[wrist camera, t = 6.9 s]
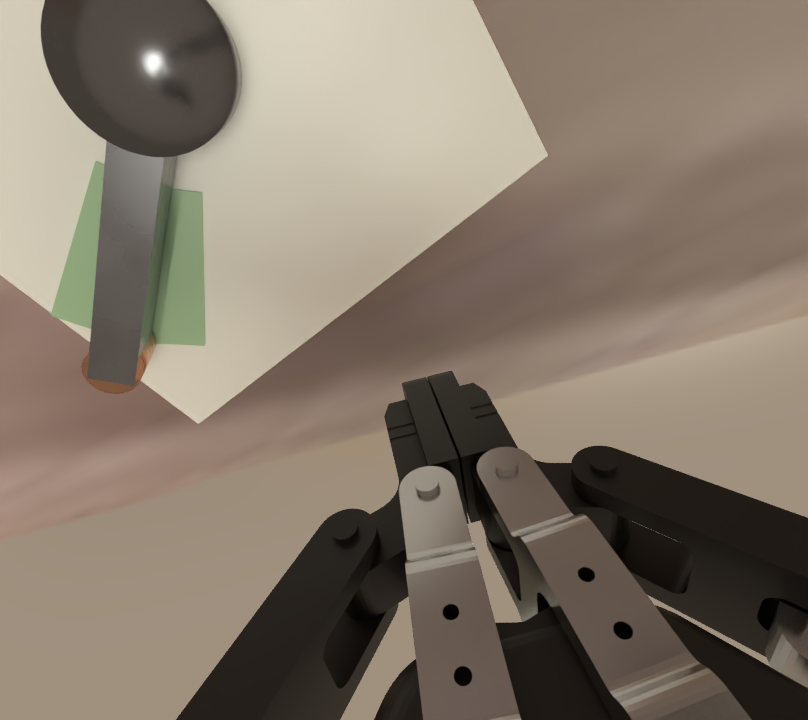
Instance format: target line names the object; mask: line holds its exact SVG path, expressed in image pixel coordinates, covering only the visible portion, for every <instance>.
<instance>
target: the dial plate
mask: <svg viewBox="0 0 808 720" xmlns="http://www.w3.org/2000/svg"><path fill="white" fill-rule="evenodd" d="M207 1H208V2H209V3H210V4H211V5H212V6H213V8H214V9H215V10H216V11H217V13H218V14H219V15H220V16H221V18H222V19H223V21H224V22H225V24H226V26H227V27H228V29H229V31H230V33H231V35H232V37H233V39H234V42H235V45H236V47H237V50H238V54H239V58H240V63H241V71H242V87H241V95H240V99H239V103H238V105H237V108H236V110H235V113H234V115H233V116H232V118H231V120H230V121H229V122H228V124H227V125H226V126H225V128H223V129H222V130H221V131H220V132H219V133H218V134H217V135H216V136H215V137H213V138H212V139H211V140H210V141H208V142H207V143H206V144H204V145H203V146H201V147H200V148H198V149H196V150H194V151H192V152H189V153H186V154H183V155H179V156H177V157H176V165H175V172H174V179H173V186H172V193H171V201H170V208H169V215H168V222H167V229H166V237H165V244H164V251H163V258H162V266H161V273H160V280H159V287H158V294H157V302H156V309H155V316H154V323H153V331H152V334H153V336H154V338H155V342H156V347H155V351H154V353H153V355H152V357H151V359H150V361H149V364H148V366H147V368H146V370H145V372H144V374H143V376H142V378H141V381H142V382H143V383H145V384H146V385H147V386H149V387H150V388H151V389H153V390H154V391H155V392H157V393H158V394H159V395H160V396H162V397H163V398H164V399H166V400H167V401H168V402H170V403H171V404H172V405H174V406H175V407H176V408H178V409H179V410H180V411H182V412H183V413H184V414H186V415H187V416H188V417H190V418H191V419H192V420H194V421H195V422H196V423H198V424H199V423H200V422H202V421H203V420H204V419H206V418H207V417H208V416H210V415H211V414H212V413H213V412H215V411H216V410H217V409H219V408H220V407H221V406H223V405H224V404H225V403H226V402H228V401H229V400H230V399H232V398H233V397H234V396H236V395H237V394H238V393H240V392H241V391H242V390H243V389H245V388H246V387H247V386H249V385H250V384H251V383H253V382H254V381H255V380H256V379H258V378H259V377H260V376H262V375H263V374H264V373H266V372H267V371H268V370H269V369H271V368H272V367H273V366H275V365H276V364H277V363H279V362H280V361H281V360H282V359H284V358H285V357H286V356H288V355H289V354H290V353H292V352H293V351H294V350H295V349H297V348H298V347H299V346H301V345H302V344H303V343H305V342H306V341H307V340H309V339H310V338H311V337H312V336H314V335H315V334H316V333H318V332H319V331H320V330H322V329H323V328H324V327H325V326H327V325H328V324H329V323H331V322H332V321H333V320H335V319H336V318H337V317H338V316H340V315H341V314H342V313H344V312H345V311H346V310H348V309H349V308H350V307H351V306H353V305H354V304H355V303H357V302H358V301H359V300H361V299H362V298H363V297H365V296H366V295H367V294H368V293H370V292H371V291H372V290H374V289H375V288H376V287H378V286H379V285H380V284H381V283H383V282H384V281H385V280H387V279H388V278H389V277H391V276H392V275H393V274H394V273H396V272H397V271H398V270H400V269H401V268H402V267H404V266H405V265H406V264H407V263H409V262H410V261H411V260H413V259H414V258H415V257H417V256H418V255H419V254H421V253H422V252H423V251H424V250H426V249H427V248H428V247H430V246H431V245H432V244H434V243H435V242H436V241H437V240H439V239H440V238H441V237H443V236H444V235H445V234H447V233H448V232H449V231H450V230H452V229H453V228H454V227H456V226H457V225H458V224H460V223H461V222H462V221H463V220H465V219H466V218H467V217H469V216H470V215H471V214H473V213H474V212H475V211H477V210H478V209H479V208H480V207H482V206H483V205H484V204H486V203H487V202H488V201H490V200H491V199H492V198H493V197H495V196H496V195H497V194H499V193H500V192H501V191H503V190H504V189H505V188H506V187H508V186H509V185H510V184H512V183H513V182H514V181H516V180H517V179H518V178H519V177H521V176H522V175H523V174H525V173H526V172H527V171H529V170H530V169H531V168H533V167H534V166H535V165H536V164H538V163H539V162H540V161H542V160H543V159H544V158H546V157H547V156H548V154H547V152H546V150H545V148H544V146H543V144H542V142H541V140H540V138H539V136H538V134H537V132H536V129H535V127H534V125H533V123H532V121H531V119H530V117H529V115H528V113H527V111H526V109H525V107H524V105H523V103H522V101H521V99H520V96H519V94H518V92H517V90H516V88H515V86H514V84H513V82H512V80H511V78H510V76H509V74H508V72H507V70H506V68H505V66H504V63H503V61H502V59H501V57H500V55H499V53H498V51H497V49H496V47H495V45H494V43H493V41H492V39H491V37H490V35H489V33H488V30H487V28H486V26H485V24H484V22H483V20H482V18H481V16H480V14H479V12H478V10H477V8H476V6H475V4H474V2H473V0H207ZM44 2H45V0H0V275H1V276H2V277H4V278H5V279H6V280H8V281H9V282H10V283H12V284H13V285H14V286H16V287H17V288H18V289H20V290H21V291H22V292H24V293H25V294H26V295H28V296H29V297H30V298H32V299H33V300H34V301H36V302H37V303H38V304H40V305H41V306H42V307H44V308H45V309H46V310H48V311H49V312H50V313H51V316H53V317H56V318H58V319H60V320H61V321H62V322H64V323H65V324H66V325H68V326H69V327H70V328H72V329H73V330H74V331H75V332H77V333H78V334H79V335H81V336H82V337H83V338H85V339H86V340H87V341H89V342H90V337H91V325H92V313H93V300H94V288H95V276H96V263H97V251H98V239H99V226H100V214H101V202H102V190H103V177H104V165H105V153H106V140H105V139H103V138H102V137H100V136H98V135H97V134H96V133H95V132H93V131H92V130H91V129H90V128H88V127H87V126H86V125H85V124H84V123H83V122H82V121H81V120H80V119H79V118H78V117H77V116H76V115H75V114H74V112H73V111H72V110H71V109H70V108H69V107H68V105H67V104H66V102H65V101H64V99H63V98H62V96H61V95H60V93H59V91H58V90H57V88H56V86H55V84H54V82H53V80H52V78H51V75H50V73H49V71H48V68H47V65H46V61H45V58H44V55H43V49H42V43H41V16H42V10H43V6H44Z"/></svg>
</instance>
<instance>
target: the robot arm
mask: <svg viewBox="0 0 808 720" xmlns="http://www.w3.org/2000/svg"><path fill="white" fill-rule="evenodd" d="M427 379H428V380H427ZM402 386H403V391H404V396H405V400H403V401H399V402H395V403H391V404H389V405H388V408H387V411H386V413H385V416H384V417H385V421H386V426H387V430H388V434H389V438H390V443H391V447H392V451H393V456H394V460H395V464H396V468H397V473H398V477H399V487H398V490H397V492H396V494H395V496H394V497H393V498H392V500H391V501H390V502H389V503H387V504H386V505H385V506H384V507H382V508H380V509H379V510H377V511H375V512H374V513H372V514H369V513H367V512H365V511H363V510H360V509H346V510H342V511H339V512H337V513H335V514H333V515H332V516H330V517H329V518H327V520H325V521H324V523H323V524H322V525H321V526H320V527H319V529H318V530H317V531H316V533H315V534H314V535H313V537H312V538H311V539H310V541H309V542H308V544H307V545H306V546H305V547H304V549H303V550H302V552H301V553H300V554H299V556H298V557H297V558H296V560H295V561H294V562H293V564H292V565H291V566H290V568H289V569H288V570H287V572H286V573H285V574H284V576H283V577H282V578H281V580H280V581H279V582H278V584H277V585H276V586H275V588H274V589H273V590H272V592H271V593H270V594H269V596H268V597H267V598H266V600H265V601H264V602H263V604H262V605H261V606H260V608H259V609H258V611H257V612H256V613H255V615H254V616H253V617H252V619H251V620H250V621H249V623H248V624H247V625H246V627H245V628H244V629H243V631H242V632H241V633H240V635H239V636H238V637H237V639H236V640H235V641H234V643H233V644H232V645H231V647H230V648H229V649H228V651H227V652H226V653H225V655H224V656H223V658H222V659H221V660H220V661H219V663H218V664H217V665H216V667H215V668H214V670H213V671H212V672H211V674H210V675H209V676H208V678H207V679H206V680H205V682H204V683H203V684H202V686H201V687H200V688H199V690H198V691H197V692H196V694H195V695H194V696H193V698H192V699H191V700H190V702H189V703H188V704H187V706H186V707H185V708H184V710H183V711H182V712H181V714H180V715H179V716H178V718H177V719H176V720H340V719H341V717H342V715H343V713H344V711H345V709H346V707H347V705H348V703H349V702H350V700H351V698H352V696H353V694H354V692H355V690H356V688H357V686H358V684H359V683H360V680H361V679H362V677H363V675H364V673H365V671H366V669H367V667H368V665H369V663H370V661H371V660H372V658H373V656H374V654H375V652H376V650H377V648H378V646H379V644H380V642H381V640H382V639H383V636H384V635H385V633H386V631H387V629H388V627H389V625H390V623H391V621H392V620H393V617H394V616H395V614H396V611H397V608H398V603H399V602H401V601H402V600H404V599H405V598H407V597H408V596H409V603H410V611H411V620H412V628H413V637H414V646H415V654H416V659H415V660H414V661H413V662H411V663H410V664H409V665H408V666H407V667H406V668H405V669H404V670H403V671H402V672H401V673H400V674H399V676H398V677H397V678H396V680H395V681H394V682H393V684H392V685H391V687H390V688H389V690H388V692H387V693H386V695H385V697H384V699H383V701H382V703H381V706H380V708H379V710H378V712H377V714H376V717H375V719H374V720H808V518H806V517H804V516H801V515H798V514H795V513H792V512H790V511H787V510H784V509H781V508H778V507H776V506H773V505H770V504H767V503H765V502H762V501H759V500H757V499H754V498H751V497H748V496H745V495H743V494H740V493H737V492H734V491H732V490H729V489H726V488H723V487H720V486H718V485H715V484H712V483H709V482H706V481H704V480H701V479H698V478H695V477H693V476H689V475H687V474H684V473H682V472H679V471H676V470H673V469H671V468H667V467H665V466H662V465H659V464H657V463H654V462H651V461H648V460H646V459H643V458H640V457H637V456H635V455H632V454H629V453H626V452H623V451H620V450H618V449H615V448H612V447H607V446H592V447H588V448H584V449H582V450H580V451H579V452H577V454H576V455H575V456H574V457H573V459H572V463H544V462H540V461H536V460H533V458H532V457H531V456H530V455H528V453H526V452H525V451H523V450H521V449H518V447H517V446H516V444H515V442H514V440H513V438H512V437H511V435H510V433H509V431H508V430H507V428H506V426H505V424H504V422H503V421H502V419H501V417H500V416H499V414H498V413H497V410H496V408H495V407H494V405H493V404H492V401H491V399H490V398H489V396H488V394H487V392H486V391H485V390H483V389H482V388H480V387H479V386H477V385H476V384H474V383H470V384H466V385H462V386H459V384H458V382H457V380H456V378H455V376H454V374H453V372H452V371H448V372H444V373H440V374H436V375H432V376H428V377H427V378H426V377H424V378H420V379H416V380H412V381H408V382H404V383H402ZM467 513H468V516H469V519H470V521H471V523H472V522H475V521H480V520H481V522H482V525H483V527H484V530H485V535H486V542H487V547H488V549H489V551H490V553H491V555H492V557H493V559H494V562H495V563H496V566H497V568H498V570H499V572H500V574H501V576H502V578H503V580H504V582H505V584H506V586H507V588H508V590H509V593H510V594H511V597H512V599H513V601H514V603H515V605H516V607H517V609H518V612H519V614H520V617H521V620H522V622H518V623H495V620H494V616H493V612H492V609H491V605H490V601H489V597H488V594H487V590H486V586H485V582H484V578H483V575H482V571H481V567H480V564H479V560H478V556H477V552H476V550H475V547H473V545H472V541H471V537H470V533H469V529H468V525H467V524H468V517H467ZM632 521H633V522H632ZM634 522H636V523H634ZM637 523H638V524H637ZM639 524H640V525H639ZM641 525H642V526H641ZM644 526H645V527H644ZM646 527H647V528H646ZM648 528H649V529H648ZM650 529H652V530H650ZM653 530H654V531H653ZM655 531H656V532H655ZM657 532H658V533H657ZM659 533H660V534H659ZM662 534H663V535H662ZM664 535H665V536H664ZM666 536H667V537H666ZM668 537H669V538H668ZM671 538H672V539H671ZM673 539H674V540H673ZM675 540H676V541H675ZM677 541H678V542H677ZM647 595H649V596H651V597H653V598H655V599H657V600H659V601H661V602H663V603H664V604H666V605H668V606H670V607H672V608H674V609H676V610H678V611H680V612H681V613H683V614H686V615H687V616H689V617H691V618H693V619H695V620H697V621H699V622H701V623H702V624H705V625H706V626H708V627H710V628H712V629H714V630H716V631H718V632H720V633H722V634H723V635H725V636H727V637H729V638H731V639H733V640H735V641H737V642H739V643H741V644H742V645H744V646H746V647H748V648H750V649H752V650H754V651H756V652H758V653H760V654H761V655H763V656H765V657H767V660H768V662H769V664H770V666H771V667H772V668H771V667H769V666H768V665H766V664H764V663H762V662H761V661H759V660H757V659H755V658H753V657H752V656H750V655H748V654H746V653H745V652H743V651H741V650H739V649H738V648H736V647H734V646H732V645H730V644H729V643H727V642H725V641H723V640H722V639H720V638H718V637H716V636H715V635H713V634H711V633H709V632H707V631H706V630H704V629H702V628H700V627H699V626H697V625H695V624H693V623H691V622H689V621H688V620H686V619H684V618H683V617H681V616H679V615H677V614H675V613H673V612H671V611H668V610H666V609H664V608H661V607H658V606H655V605H654V604H653V603H652V601H651V600H650V599H649V597H648V596H647Z"/></svg>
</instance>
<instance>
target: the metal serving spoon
mask: <svg viewBox="0 0 808 720" xmlns="http://www.w3.org/2000/svg"><path fill="white" fill-rule="evenodd" d="M41 43H42V49H43V55H44V58H45V61H46V65H47V68H48V71H49V73H50V75H51V78H52V80H53V82H54V84H55V86H56V88H57V90H58V91H59V93H60V95H61V96H62V98H63V99H64V101H65V102H66V104H67V105H68V107H69V108H70V109H71V110H72V111H73V112H74V114H75V115H76V116H77V117H78V118H79V119H80V120H81V121H82V122H83V123H84V124H85V125H86V126H87V127H88V128H90V129H91V130H92V131H93V132H95V133H96V134H97V135H98V136H100V137H102V138H103V139H105V140H106V153H105V165H104V177H103V190H102V202H101V214H100V226H99V239H98V251H97V263H96V276H95V288H94V300H93V313H92V325H91V337H90V349H89V352H88V354H87V355H86V357H85V358H84V360H83V363H82V372H83V375H84V377H85V379H86V380H87V381H88V382H89V383H90V384H91V385H92V386H93V387H95V388H97V389H98V390H101V391H103V392H107V393H113V394H119V393H125V392H128V391H130V390H132V389H134V388H135V387H136V386H137V385H138V384H139V382H140V380H141V378H142V376H143V374H144V372H145V370H146V368H147V366H148V364H149V361H150V359H151V357H152V355H153V353H154V351H155V347H156V342H155V338H154V336H153V334H152V331H153V323H154V316H155V309H156V302H157V294H158V287H159V280H160V273H161V266H162V258H163V251H164V244H165V237H166V229H167V222H168V215H169V208H170V201H171V193H172V186H173V179H174V172H175V165H176V157H177V156H179V155H183V154H186V153H189V152H192V151H194V150H196V149H198V148H200V147H201V146H203V145H204V144H206V143H207V142H208V141H210V140H211V139H212V138H213V137H215V136H216V135H217V134H218V133H219V132H220V131H221V130H222V129H223V128H225V126H226V125H227V124H228V122H229V121H230V120H231V118H232V116H233V115H234V113H235V110H236V108H237V105H238V103H239V99H240V95H241V87H242V71H241V63H240V58H239V54H238V50H237V47H236V45H235V42H234V39H233V37H232V35H231V33H230V31H229V29H228V27H227V26H226V24H225V22H224V21H223V19H222V18H221V16H220V15H219V14H218V13H217V11H216V10H215V9H214V8H213V6H212V5H211V4H210V3H209V2H208V1H207V0H45V2H44V6H43V10H42V16H41Z"/></svg>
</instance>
